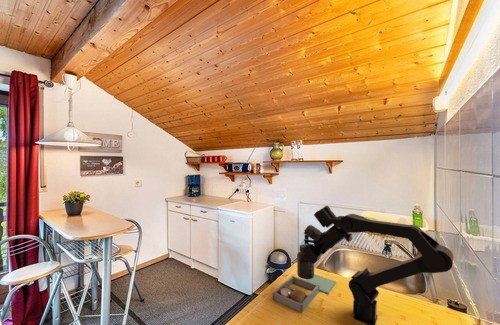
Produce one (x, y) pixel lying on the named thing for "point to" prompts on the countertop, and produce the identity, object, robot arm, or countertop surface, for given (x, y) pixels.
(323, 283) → the rubber mat
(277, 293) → the parts organiser
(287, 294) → the silver round piece
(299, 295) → the walnut block
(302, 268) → the supplement bottle
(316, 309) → the countertop surface
